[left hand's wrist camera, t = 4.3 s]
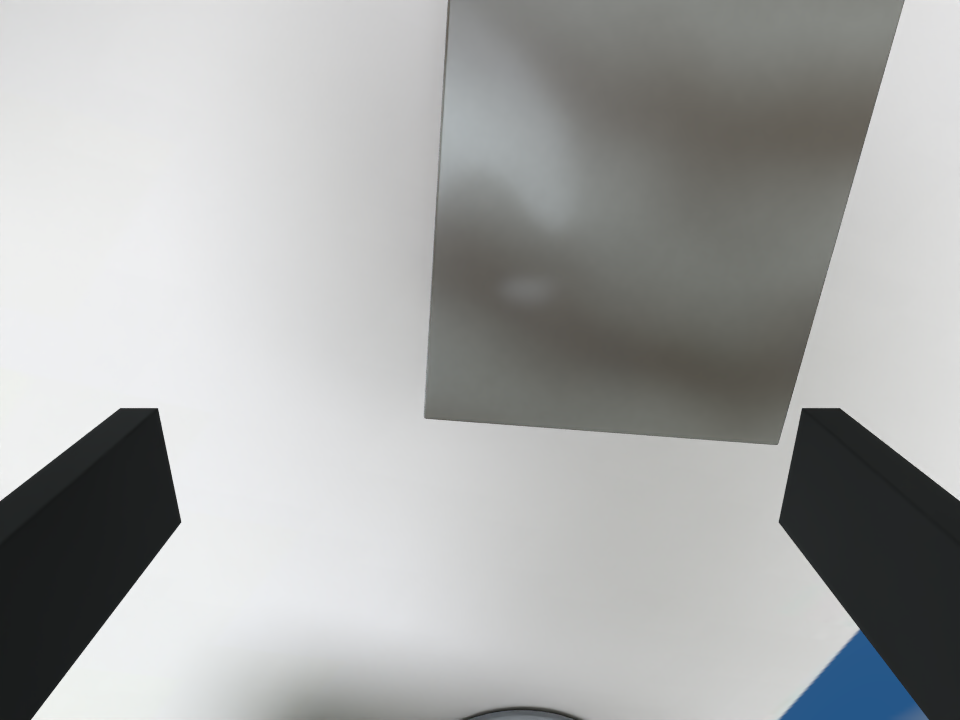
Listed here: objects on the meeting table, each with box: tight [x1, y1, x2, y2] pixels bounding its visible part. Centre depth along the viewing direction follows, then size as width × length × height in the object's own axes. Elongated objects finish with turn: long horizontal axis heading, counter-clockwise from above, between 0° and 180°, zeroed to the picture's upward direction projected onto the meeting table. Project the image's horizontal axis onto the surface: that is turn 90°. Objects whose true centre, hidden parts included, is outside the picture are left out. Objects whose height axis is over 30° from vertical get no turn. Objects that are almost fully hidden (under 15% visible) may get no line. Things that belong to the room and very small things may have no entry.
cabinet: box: [424, 0, 904, 445], centre depth 22 cm, size 20×12×12 cm, turn 175°
